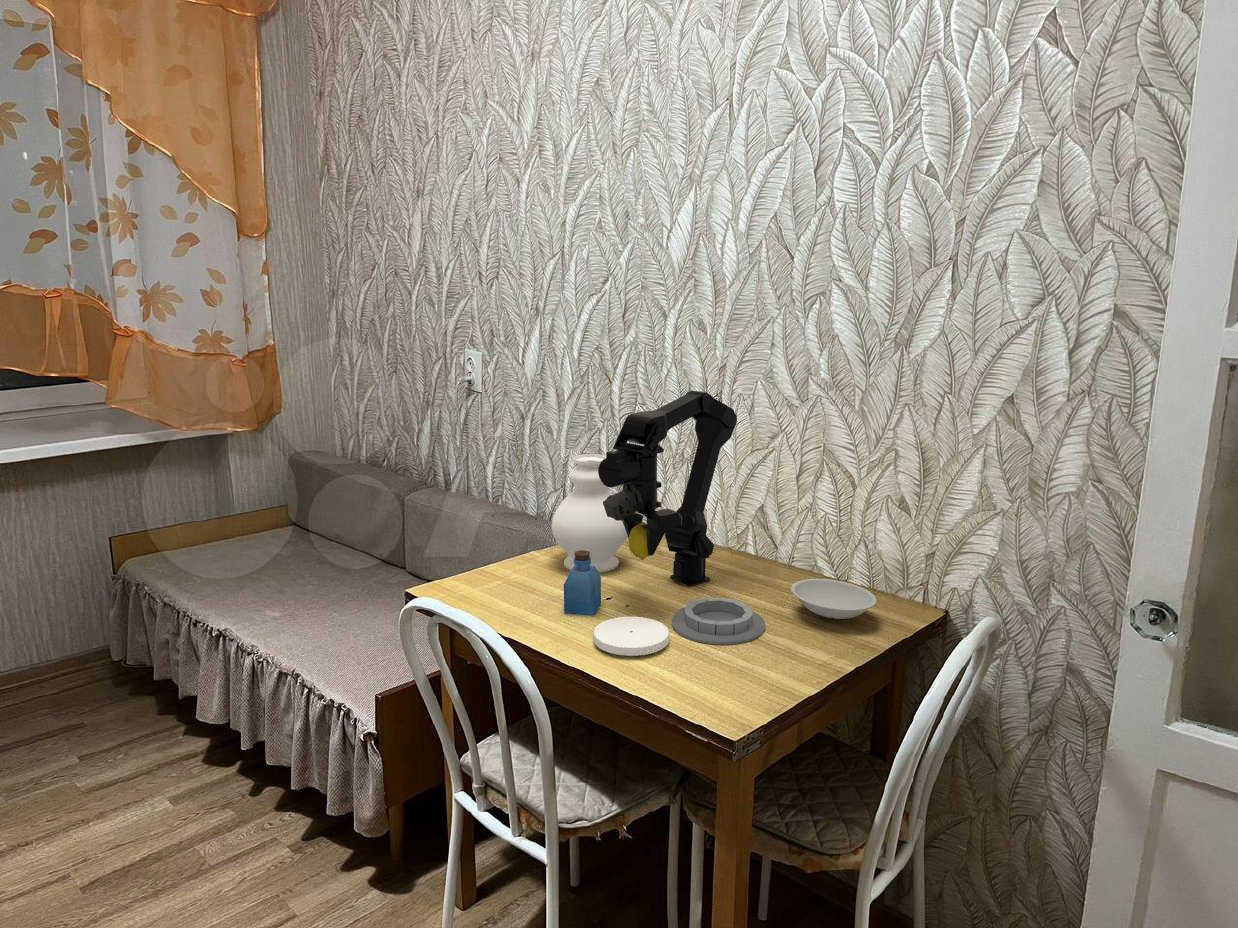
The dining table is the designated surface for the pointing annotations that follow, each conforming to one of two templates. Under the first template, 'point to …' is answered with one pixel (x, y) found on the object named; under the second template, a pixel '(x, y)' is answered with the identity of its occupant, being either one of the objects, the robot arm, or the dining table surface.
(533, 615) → the dining table surface
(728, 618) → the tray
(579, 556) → the perfume bottle
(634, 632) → the plastic lid
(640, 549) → the lemon
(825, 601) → the dish
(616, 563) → the decorative vase
